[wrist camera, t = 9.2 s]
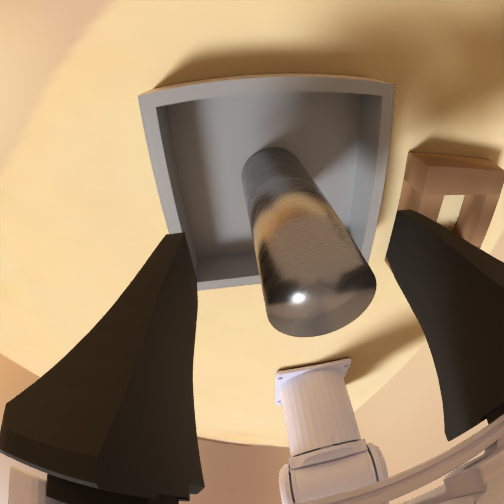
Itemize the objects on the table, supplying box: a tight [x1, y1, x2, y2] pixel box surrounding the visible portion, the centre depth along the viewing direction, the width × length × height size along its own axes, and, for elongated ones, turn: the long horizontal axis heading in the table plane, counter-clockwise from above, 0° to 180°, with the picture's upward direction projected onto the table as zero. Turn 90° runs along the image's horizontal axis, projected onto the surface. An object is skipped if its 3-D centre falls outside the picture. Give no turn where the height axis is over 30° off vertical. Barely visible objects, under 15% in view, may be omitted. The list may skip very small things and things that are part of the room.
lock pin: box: [241, 147, 376, 337], centre depth 10 cm, size 3×3×8 cm
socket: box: [385, 152, 504, 273], centre depth 15 cm, size 8×8×2 cm
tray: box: [138, 73, 395, 291], centre depth 13 cm, size 10×10×2 cm
